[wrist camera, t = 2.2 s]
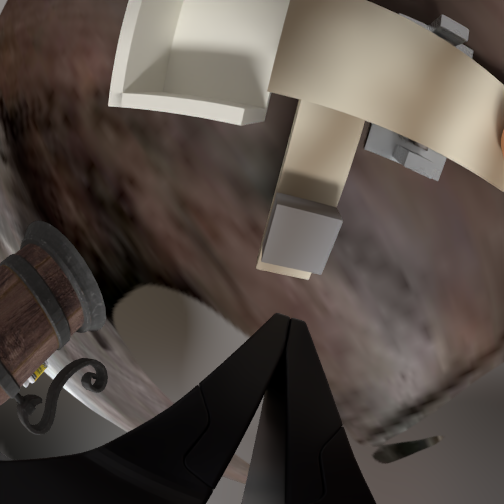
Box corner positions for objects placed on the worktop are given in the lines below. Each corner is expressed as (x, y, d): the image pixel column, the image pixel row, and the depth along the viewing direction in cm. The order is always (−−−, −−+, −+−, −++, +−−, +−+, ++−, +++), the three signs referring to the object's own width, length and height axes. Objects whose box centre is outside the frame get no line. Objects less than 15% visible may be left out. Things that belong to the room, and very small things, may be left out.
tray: (298, -16, 10) (286, -50, 6) (264, 121, 15) (240, 125, 12) (180, -19, 11) (142, -40, 7) (152, 101, 16) (108, 106, 13)
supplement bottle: (51, 366, 52) (30, 391, 44) (44, 364, 54) (24, 387, 46) (38, 350, 50) (16, 375, 42) (32, 348, 52) (11, 372, 44)
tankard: (14, 238, 30) (-78, 311, 13) (56, 201, 24) (-92, 308, 7) (89, 360, 39) (26, 442, 22) (156, 369, 32) (79, 492, 16)
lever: (526, 111, 9) (551, 119, 7) (446, 298, 17) (459, 321, 15) (295, -17, 8) (299, -38, 6) (231, 253, 16) (224, 279, 14)
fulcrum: (471, 51, 9) (495, 44, 6) (436, 179, 14) (455, 195, 11) (398, 14, 10) (410, -4, 7) (363, 148, 14) (370, 157, 12)
